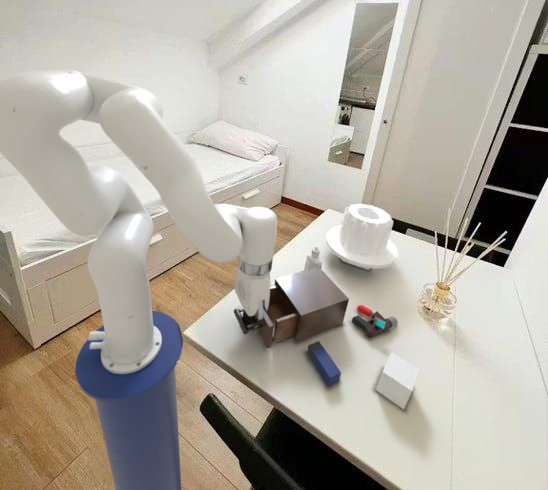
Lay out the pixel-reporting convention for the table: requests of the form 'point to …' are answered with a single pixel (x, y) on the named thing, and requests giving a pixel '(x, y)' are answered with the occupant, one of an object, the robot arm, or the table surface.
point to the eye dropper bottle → (313, 259)
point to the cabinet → (314, 301)
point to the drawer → (273, 319)
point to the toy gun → (373, 322)
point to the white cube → (397, 380)
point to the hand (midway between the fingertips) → (249, 322)
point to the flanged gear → (363, 237)
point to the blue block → (323, 363)
